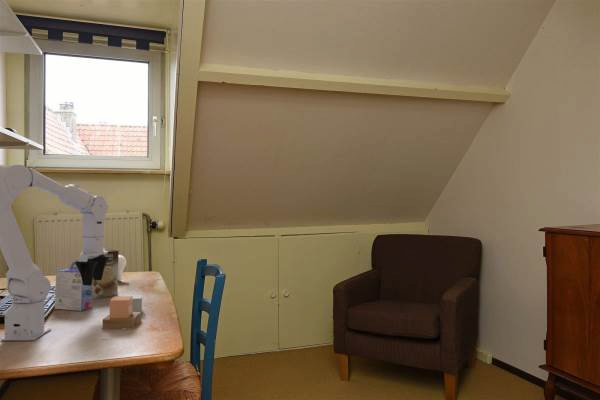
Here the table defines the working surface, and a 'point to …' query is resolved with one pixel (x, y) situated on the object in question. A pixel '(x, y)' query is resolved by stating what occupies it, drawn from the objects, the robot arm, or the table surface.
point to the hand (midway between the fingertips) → (92, 282)
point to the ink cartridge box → (72, 290)
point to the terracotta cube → (121, 307)
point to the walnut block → (122, 321)
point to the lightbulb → (121, 265)
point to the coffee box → (107, 278)
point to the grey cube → (137, 303)
